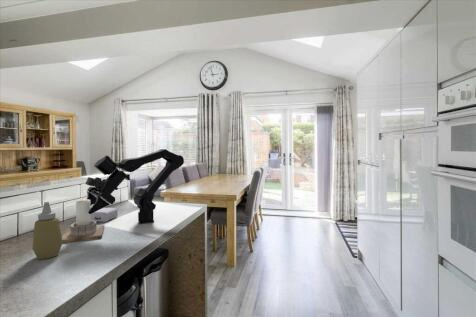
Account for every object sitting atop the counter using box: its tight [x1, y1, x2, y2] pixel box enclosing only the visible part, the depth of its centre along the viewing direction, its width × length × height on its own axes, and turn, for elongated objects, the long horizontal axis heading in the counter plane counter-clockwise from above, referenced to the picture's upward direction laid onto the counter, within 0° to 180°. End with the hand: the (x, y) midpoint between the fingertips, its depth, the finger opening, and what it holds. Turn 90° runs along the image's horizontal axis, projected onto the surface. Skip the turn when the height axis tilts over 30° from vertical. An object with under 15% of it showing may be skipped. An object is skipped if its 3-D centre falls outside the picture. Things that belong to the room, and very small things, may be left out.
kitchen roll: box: [75, 198, 91, 226], centre depth 104 cm, size 5×5×13 cm
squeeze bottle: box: [32, 201, 63, 260], centre depth 84 cm, size 8×8×18 cm
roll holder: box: [61, 220, 105, 244], centre depth 104 cm, size 14×14×5 cm
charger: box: [91, 207, 119, 223], centre depth 130 cm, size 5×9×15 cm
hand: (85, 211), depth 104 cm, fingers open, 9 cm apart
